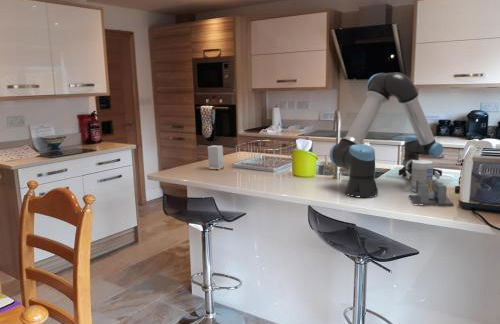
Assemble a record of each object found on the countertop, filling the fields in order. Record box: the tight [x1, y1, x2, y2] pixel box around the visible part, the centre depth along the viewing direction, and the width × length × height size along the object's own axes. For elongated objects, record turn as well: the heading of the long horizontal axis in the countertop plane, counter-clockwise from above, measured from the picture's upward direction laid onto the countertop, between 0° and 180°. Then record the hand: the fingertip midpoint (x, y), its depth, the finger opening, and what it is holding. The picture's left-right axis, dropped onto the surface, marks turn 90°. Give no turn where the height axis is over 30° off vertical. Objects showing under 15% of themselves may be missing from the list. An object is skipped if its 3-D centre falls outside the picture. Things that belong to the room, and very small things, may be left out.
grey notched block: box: [408, 182, 454, 207], centre depth 178 cm, size 12×16×8 cm
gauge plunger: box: [414, 179, 438, 199], centre depth 182 cm, size 10×9×8 cm
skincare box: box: [207, 144, 225, 168], centre depth 265 cm, size 8×7×16 cm
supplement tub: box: [410, 159, 434, 193], centre depth 195 cm, size 10×10×15 cm
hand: (423, 176), depth 192 cm, fingers open, 13 cm apart
